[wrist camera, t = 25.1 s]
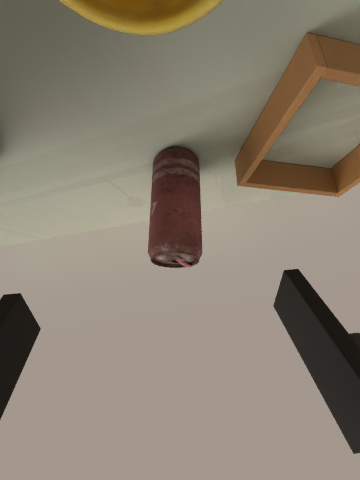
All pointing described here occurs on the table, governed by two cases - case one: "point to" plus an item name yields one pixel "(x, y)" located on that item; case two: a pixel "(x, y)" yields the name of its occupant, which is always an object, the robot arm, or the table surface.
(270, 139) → the wooden square frame
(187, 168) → the can
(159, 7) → the flower pot
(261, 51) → the table surface
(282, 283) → the robot arm
